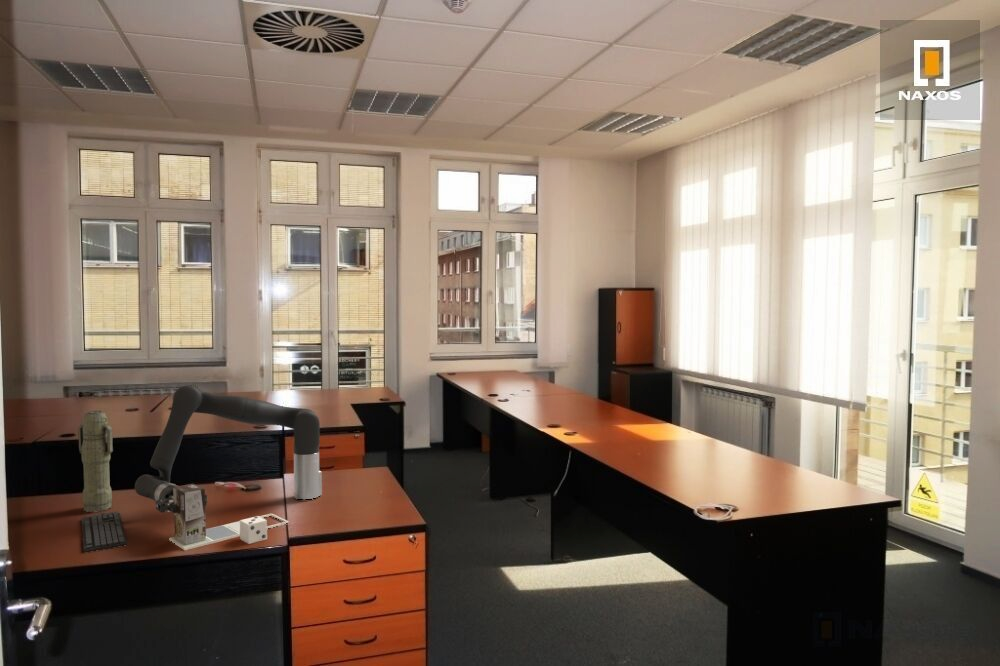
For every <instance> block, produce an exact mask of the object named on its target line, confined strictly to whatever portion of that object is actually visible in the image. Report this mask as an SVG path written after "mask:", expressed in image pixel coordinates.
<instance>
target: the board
mask: <svg viewBox="0 0 1000 666" xmlns="http://www.w3.org/2000/svg"><path fill="white" fill-rule="evenodd" d="M258 516H259V515H258ZM269 516H272V517H271V518H273V517H274V518H273V519H275V518H277V519H276V520H278V519H279V520H278V521H280V520H281V521H280V522H279V523H276V524H271V525H267V530H269V529H268V528H271V529H274V528H273V527H275V528H277V527H276V526H278V527H282V526H285V525H284V524H286V523H288V522H289V523H290V521H289V520H287V519H284V518H282V517H280V516H278V515H276V514H274V513H269V514H268V513H267V514H264V515H260V516H259V517H261V518H263V519H265V518H264V517H267V518H270V517H269ZM282 521H283V522H282ZM281 525H282V526H281ZM286 525H287V524H286ZM238 537H239V538H240V520H238V521H233V522H230V523H227V524H223V525H218V526H214V527H213V526H212V527H210V528H206V540H203V541H199V542H195V543H191V544H184V543H183V542H181V541H179V540H178V539H176V538H175V536H172V537H169V541H170V542H171V541H172V542H171V543H172V544H174V543H175V544H174V545H175V546H176V547H177V546H178V548H180V549H182V550H183V551H189V550H191V549H195V548H199V547H203V546H207V545H211V544H216V543H219V542H223V541H227V540H231V539H235V538H238Z"/></svg>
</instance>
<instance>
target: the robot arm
mask: <svg viewBox="0 0 1000 666" xmlns="http://www.w3.org/2000/svg"><path fill="white" fill-rule="evenodd" d="M173 393H174V394H173V396H172V404H171V409H170V413H169V416H168V419H167V422H166V425H165V427H164V429H163V431H162V434H161V436H160V438H159V441H158V442H157V445H156V447H155V449H154V452H153V454H152V456H151V460H150V462H149V465H150V467H151V468H153V469H155V470H157V471H158V472H159V476H156V475H152V474H142V475H140V476H139V477H138V478H137V479H136V481H135V484H134V491H135V493H136V494H137V495H139V496H141V497H144V498H146V499H147V498H148V499H150V500H153V501H154V502H155V510H156V511H158V512H159V513H161V514H163V513H165V512H166V511H167V512H168V513H169V512H171V513H173V514H174V513H178V508H177V506H176V505H174V493H173V488H174V487H180V486H179V485H176V484H175V483H171V473H172V468H173V466H174V465H173V464H174V462H175V459H176V457H177V455H178V452H179V450H180V446H181V443H182V440H183V436H184V433H185V430H186V428H187V426H188V423H189V422H190V419H191V417H192V416H193V414H194V413H197V414H204V415H205V414H206V415H213V416H217V417H219V418H223V419H226V420H231V421H234V422H237V423H243V424H249V425H254V426H255V425H256V426H257V425H258V426H280V427H285V428H289V429H292V430H293V436H294V437H293V439H294V440H293V441H294V442H293V484H294V485H293V490H294V491H293V494H294V499H295V498H296V499H295V500H297V499H312V500H314V499H313V498H316V497H318V496H320V495H322V496H323V486H322V485H323V483H322V482H323V480H322V478H323V477H322V475H323V474H322V471H321V470H320V444H321V443H320V442H321V439H320V438H321V437H320V434H321V429H320V428H321V425H320V423H321V422H320V419H319V417H318V414H316V412H315V411H314V410H311V409H309V408H299V407H292V406H291V407H290V406H283V405H280V404H279V405H278V404H275V403H271V402H268V401H265V400H260V399H256V398H252V397H248V396H247V397H246V396H238V395H220V394H215V393H210V392H208V391H203V390H200V389H198V388H197V387H196V386H193V385H189V384H187V385H182V386H180V387H178V388H177V389H176V390H175V391H174V392H173ZM320 497H321V496H320ZM318 498H319V497H318ZM316 499H317V498H316ZM207 504H208V495H207V494H205V508H206V507H207Z"/></svg>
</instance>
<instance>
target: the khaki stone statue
mask: <svg viewBox="0 0 1000 666" xmlns="http://www.w3.org/2000/svg"><path fill="white" fill-rule="evenodd" d="M108 423H109V422H108V417H107V415H106V412H104V411H102V410H90V411H87V412H86V413H84V415H83V419H82V424H80V426H79V427H78V430H77V431H78V451H79V454H81V462H82V464H83V490H82V504H83V512H84V511H88V512H94V511H102V512H104V511H103V510H106V509H109V508H111V506H113V505H112V501H113V494H112V493H113V492H112V487H111V485H110V481H111V480H110V461H111V454H112V453H113V452H114V447H113V439H114V437H113V434H114V433H113V428H112V426H111V424H108ZM111 509H112V508H111ZM109 510H110V509H109ZM106 511H107V510H106Z"/></svg>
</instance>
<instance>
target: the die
mask: <svg viewBox="0 0 1000 666" xmlns="http://www.w3.org/2000/svg"><path fill="white" fill-rule="evenodd" d="M239 521H240V536H239V540H241V541H242V542H244V543H246V544H248V545H250V544H254V543H258V542H261V541H266V540H268V529H267V526H268V520H267V519H266V518H261V517H259V515H256V516H253V517H248V518H244V519H240V520H239Z"/></svg>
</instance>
